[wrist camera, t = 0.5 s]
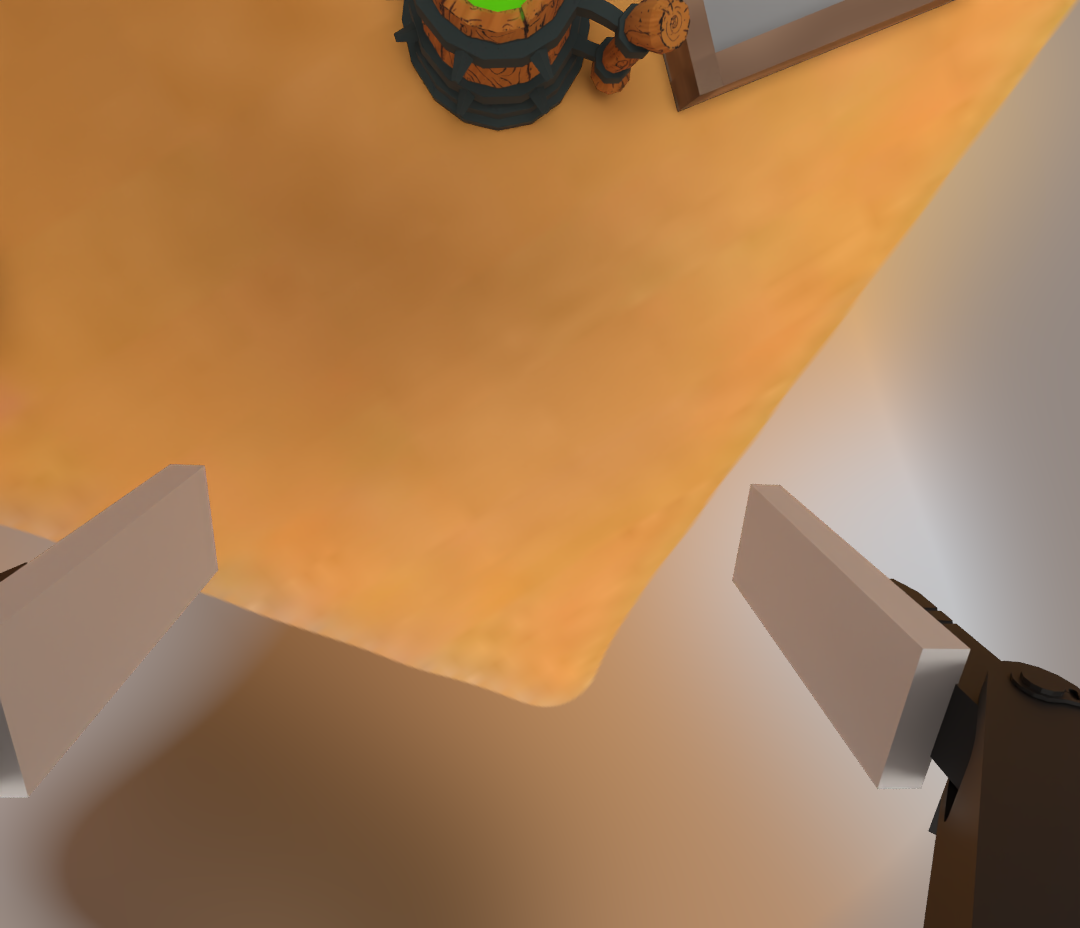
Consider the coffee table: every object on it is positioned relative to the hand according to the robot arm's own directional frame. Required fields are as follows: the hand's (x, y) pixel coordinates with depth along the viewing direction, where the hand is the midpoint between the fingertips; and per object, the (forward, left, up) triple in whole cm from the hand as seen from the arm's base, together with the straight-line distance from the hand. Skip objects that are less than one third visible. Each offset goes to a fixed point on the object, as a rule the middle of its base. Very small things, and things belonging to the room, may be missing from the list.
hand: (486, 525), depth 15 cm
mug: (-15, +8, -25) cm, 30 cm away
